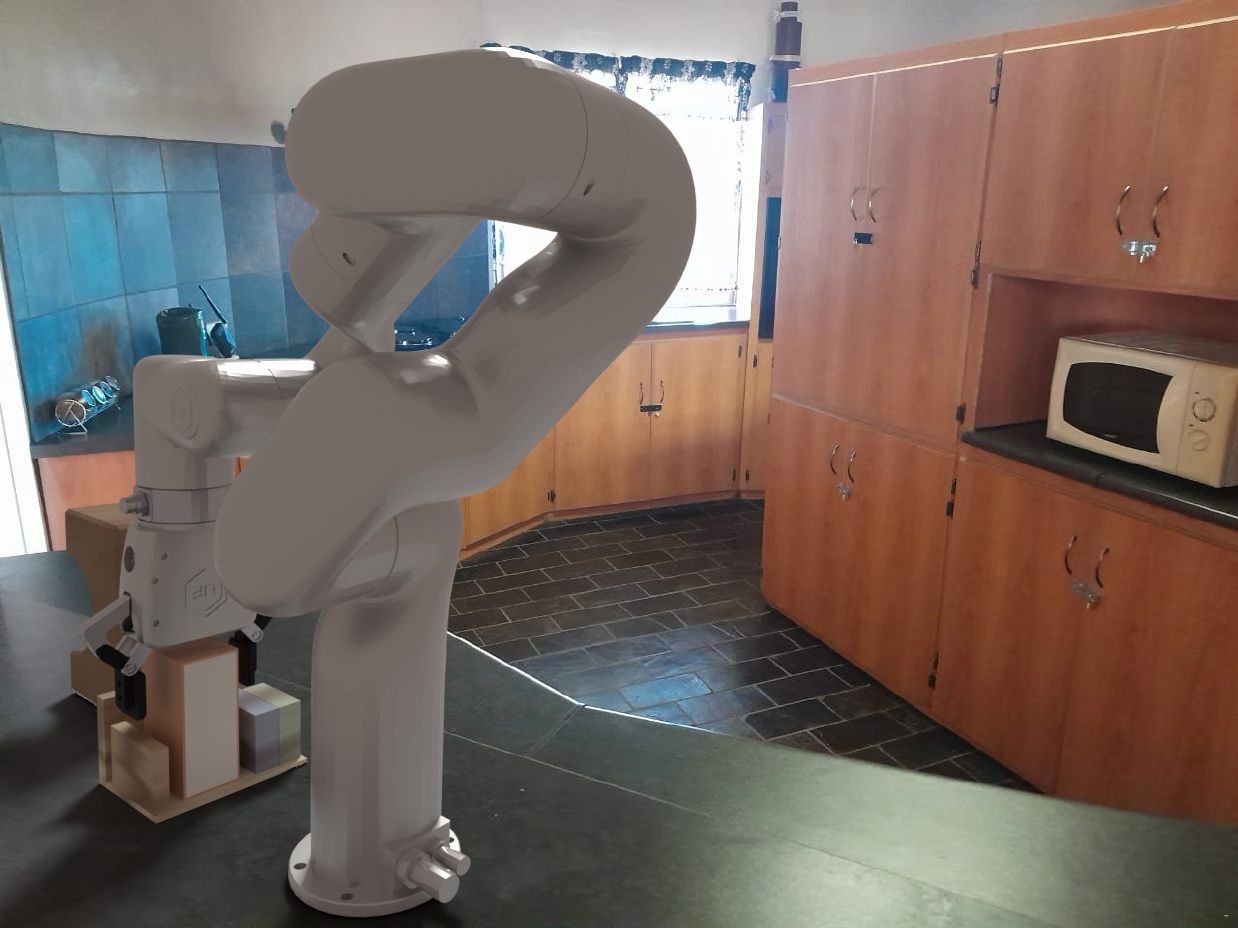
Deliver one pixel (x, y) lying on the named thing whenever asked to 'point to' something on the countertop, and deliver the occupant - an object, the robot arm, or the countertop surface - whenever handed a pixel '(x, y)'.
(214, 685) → the tall pink rectangular prism
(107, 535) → the decorative block
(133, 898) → the countertop surface
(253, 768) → the shelf
